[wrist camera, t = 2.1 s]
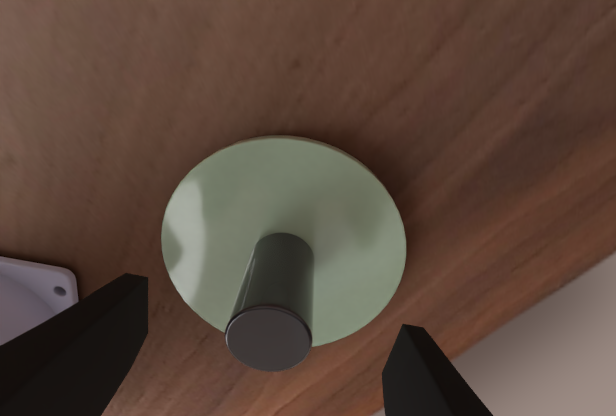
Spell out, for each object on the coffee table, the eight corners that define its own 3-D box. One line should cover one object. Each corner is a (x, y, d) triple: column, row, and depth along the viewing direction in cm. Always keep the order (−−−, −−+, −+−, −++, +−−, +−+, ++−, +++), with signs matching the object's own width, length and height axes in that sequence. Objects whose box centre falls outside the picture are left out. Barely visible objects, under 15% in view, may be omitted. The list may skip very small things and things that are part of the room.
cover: (365, 345, 16) (383, 465, 11) (168, 310, 16) (104, 421, 11) (434, 160, 12) (504, 226, 8) (176, 106, 12) (82, 143, 7)
